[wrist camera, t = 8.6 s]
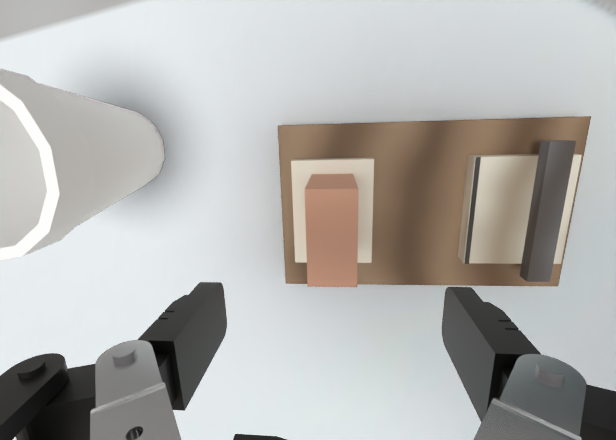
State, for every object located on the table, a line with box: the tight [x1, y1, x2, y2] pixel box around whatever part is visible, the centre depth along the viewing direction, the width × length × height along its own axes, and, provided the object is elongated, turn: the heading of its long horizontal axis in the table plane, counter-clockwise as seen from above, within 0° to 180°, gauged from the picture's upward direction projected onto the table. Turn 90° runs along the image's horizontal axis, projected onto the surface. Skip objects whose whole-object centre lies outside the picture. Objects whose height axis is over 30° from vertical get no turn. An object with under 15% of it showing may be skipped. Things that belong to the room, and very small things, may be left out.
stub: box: [291, 158, 374, 287], centre depth 23 cm, size 6×8×7 cm
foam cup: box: [0, 69, 165, 260], centre depth 22 cm, size 10×9×13 cm
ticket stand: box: [278, 116, 591, 286], centre depth 25 cm, size 22×13×4 cm, turn 92°
